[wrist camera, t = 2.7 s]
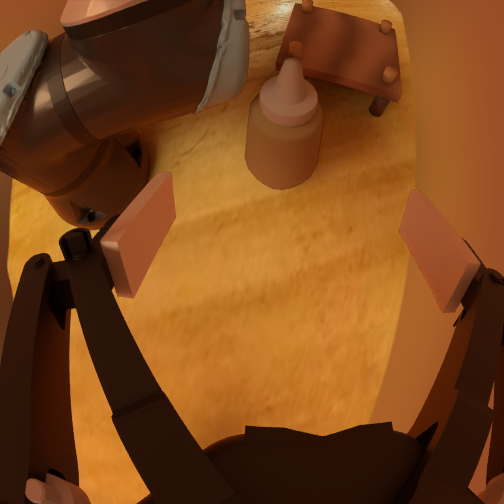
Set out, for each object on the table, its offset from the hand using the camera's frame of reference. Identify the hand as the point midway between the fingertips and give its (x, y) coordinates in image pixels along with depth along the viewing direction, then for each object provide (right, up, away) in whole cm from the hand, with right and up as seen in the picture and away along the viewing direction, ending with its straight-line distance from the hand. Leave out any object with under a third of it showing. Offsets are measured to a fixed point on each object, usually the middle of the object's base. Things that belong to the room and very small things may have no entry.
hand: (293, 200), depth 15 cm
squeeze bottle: (+1, +7, +20) cm, 21 cm away
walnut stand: (+11, +25, +22) cm, 35 cm away
